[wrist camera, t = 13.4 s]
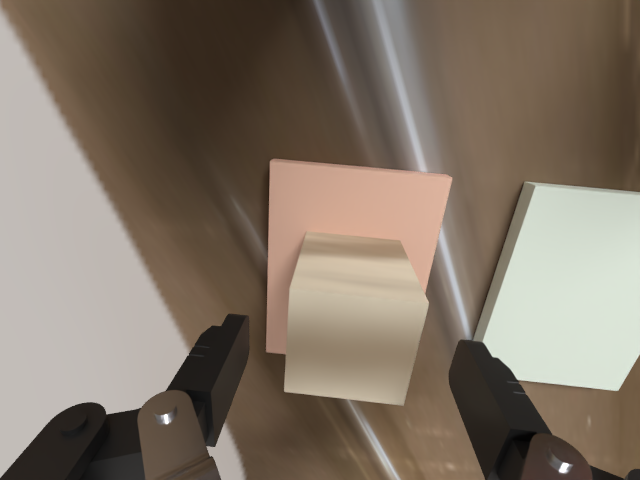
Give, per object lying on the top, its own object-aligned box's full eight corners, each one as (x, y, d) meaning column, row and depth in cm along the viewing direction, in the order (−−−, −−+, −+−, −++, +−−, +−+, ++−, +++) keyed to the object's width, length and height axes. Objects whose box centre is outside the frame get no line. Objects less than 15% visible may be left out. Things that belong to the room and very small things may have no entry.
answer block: (306, 231, 17) (289, 288, 11) (400, 240, 17) (429, 303, 11) (301, 309, 19) (283, 391, 13) (385, 318, 19) (403, 405, 13)
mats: (273, 158, 17) (269, 161, 16) (705, 198, 16) (727, 203, 15) (269, 341, 21) (266, 352, 20) (605, 378, 20) (618, 390, 19)
